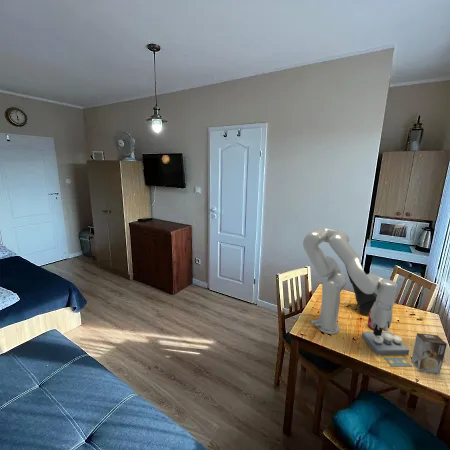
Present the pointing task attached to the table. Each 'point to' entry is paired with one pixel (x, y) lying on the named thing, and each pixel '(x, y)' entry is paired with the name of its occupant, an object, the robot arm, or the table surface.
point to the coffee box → (428, 353)
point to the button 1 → (378, 340)
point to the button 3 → (397, 340)
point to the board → (384, 345)
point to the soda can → (370, 321)
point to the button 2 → (388, 338)
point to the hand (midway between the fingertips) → (377, 334)
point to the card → (398, 362)
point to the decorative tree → (363, 298)
